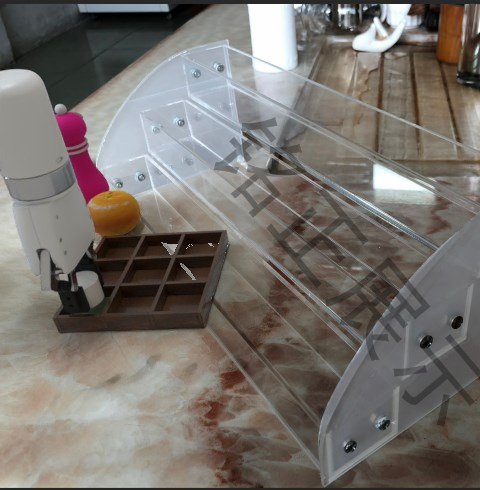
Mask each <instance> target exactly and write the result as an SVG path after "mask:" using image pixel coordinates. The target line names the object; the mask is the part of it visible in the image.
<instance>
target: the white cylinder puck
mask: <svg viewBox="0 0 480 490" xmlns="http://www.w3.org/2000/svg"><path fill="white" fill-rule="evenodd" d="M76 276H77V281H78V286H82V287H83V289H84V292H85V295H86V297H87V300H88V303H89V306H90V308H93V307H95V306H97V305H98V304H99V303H100V302H101V301H102V300H103V298H104V292H103V290H102V287H101V284H100V281H99V278H98V275H97V274H96V273H95V272H92V271H81V272H77V273H76ZM64 280H66V281H68V276H67V277H65V279H64Z"/></svg>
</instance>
